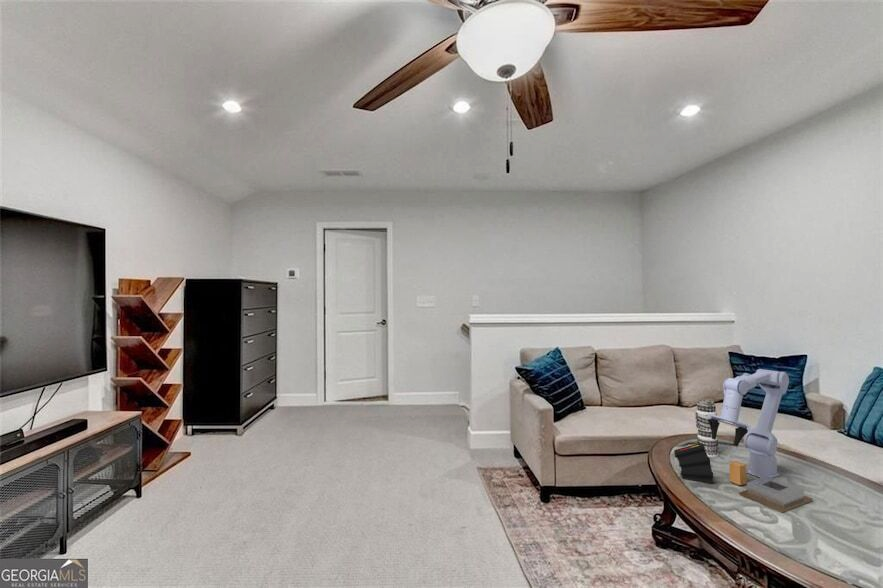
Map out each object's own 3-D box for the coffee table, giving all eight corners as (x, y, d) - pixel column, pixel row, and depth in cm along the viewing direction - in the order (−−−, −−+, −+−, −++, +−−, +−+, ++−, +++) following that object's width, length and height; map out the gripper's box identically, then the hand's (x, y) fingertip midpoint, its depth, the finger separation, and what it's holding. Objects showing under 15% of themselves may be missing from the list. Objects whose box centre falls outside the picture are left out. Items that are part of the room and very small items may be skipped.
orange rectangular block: (736, 480, 166) (735, 460, 166) (747, 484, 163) (746, 464, 163) (730, 482, 165) (729, 462, 165) (740, 486, 161) (739, 466, 161)
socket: (769, 485, 161) (768, 473, 161) (812, 501, 148) (812, 488, 148) (739, 495, 155) (739, 483, 155) (782, 512, 142) (781, 499, 142)
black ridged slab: (722, 482, 162) (702, 445, 165) (688, 489, 168) (668, 454, 171) (722, 478, 165) (701, 442, 168) (688, 486, 171) (669, 451, 175)
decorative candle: (721, 452, 194) (719, 400, 194) (717, 459, 187) (715, 404, 187) (698, 448, 200) (697, 397, 200) (694, 454, 193) (692, 401, 193)
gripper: (714, 402, 161) (707, 437, 160) (756, 415, 157) (750, 450, 155) (707, 402, 168) (701, 435, 166) (748, 414, 164) (742, 448, 162)
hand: (724, 442), depth 161 cm, fingers open, 7 cm apart
